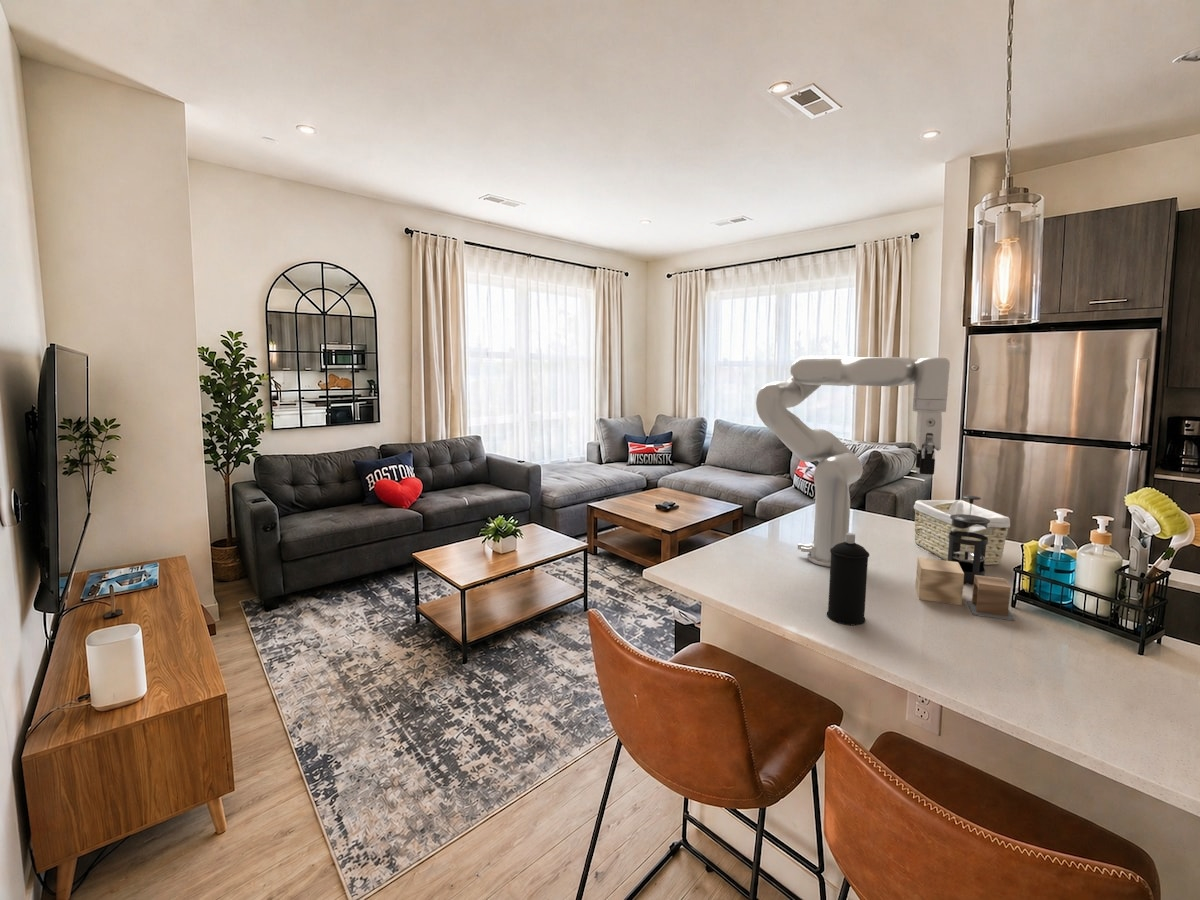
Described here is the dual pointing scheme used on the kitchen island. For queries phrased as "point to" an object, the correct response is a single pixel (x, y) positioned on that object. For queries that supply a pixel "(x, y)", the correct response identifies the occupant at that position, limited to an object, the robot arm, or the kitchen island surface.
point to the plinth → (939, 581)
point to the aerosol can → (848, 582)
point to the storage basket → (939, 525)
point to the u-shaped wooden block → (991, 595)
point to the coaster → (973, 610)
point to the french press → (968, 560)
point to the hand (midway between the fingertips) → (924, 470)
